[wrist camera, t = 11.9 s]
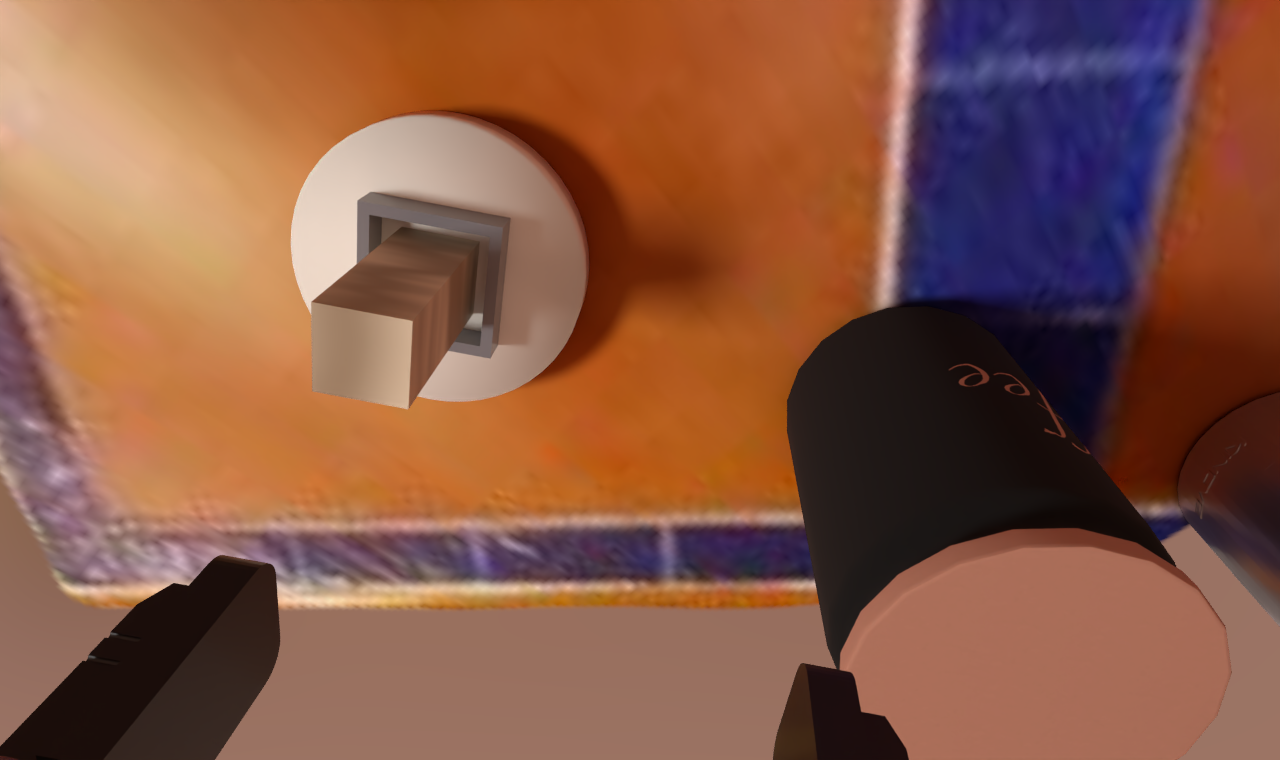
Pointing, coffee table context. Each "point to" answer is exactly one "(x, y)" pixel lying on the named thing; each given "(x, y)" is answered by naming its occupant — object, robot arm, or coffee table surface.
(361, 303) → the wood grain block
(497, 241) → the candle dish
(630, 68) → the coffee table surface
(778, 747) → the robot arm
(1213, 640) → the coffee jar
